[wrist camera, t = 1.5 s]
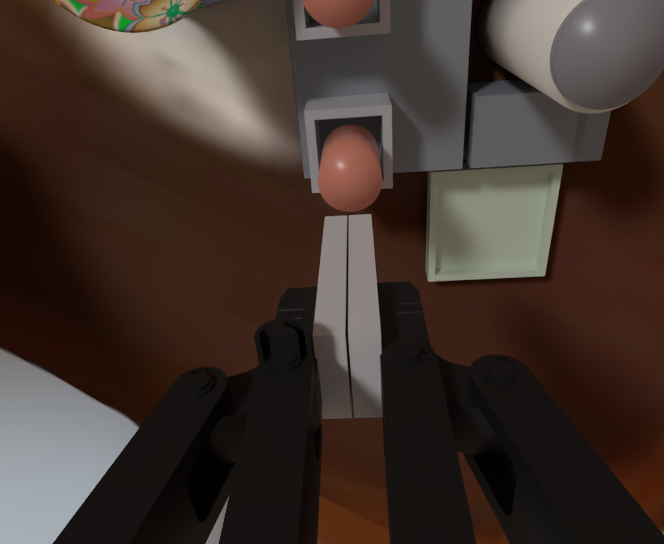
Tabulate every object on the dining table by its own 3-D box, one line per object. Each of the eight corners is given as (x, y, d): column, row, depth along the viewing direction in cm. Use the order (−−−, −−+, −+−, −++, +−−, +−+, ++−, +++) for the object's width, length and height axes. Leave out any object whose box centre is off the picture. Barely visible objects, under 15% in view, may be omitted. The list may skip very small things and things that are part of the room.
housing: (309, 158, 35) (300, 196, 29) (281, -111, 27) (262, -134, 21) (575, 140, 34) (623, 177, 28) (625, -145, 26) (706, -180, 20)
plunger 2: (324, 180, 28) (320, 213, 24) (320, 126, 27) (315, 152, 23) (378, 176, 28) (382, 209, 24) (376, 122, 26) (381, 148, 23)
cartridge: (474, 69, 32) (538, 121, 21) (480, -22, 29) (557, -18, 18) (556, 63, 31) (664, 112, 21) (569, -30, 29) (700, -30, 18)
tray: (425, 270, 39) (428, 281, 38) (427, 164, 35) (431, 172, 34) (538, 265, 39) (544, 276, 37) (554, 156, 34) (563, 164, 33)
